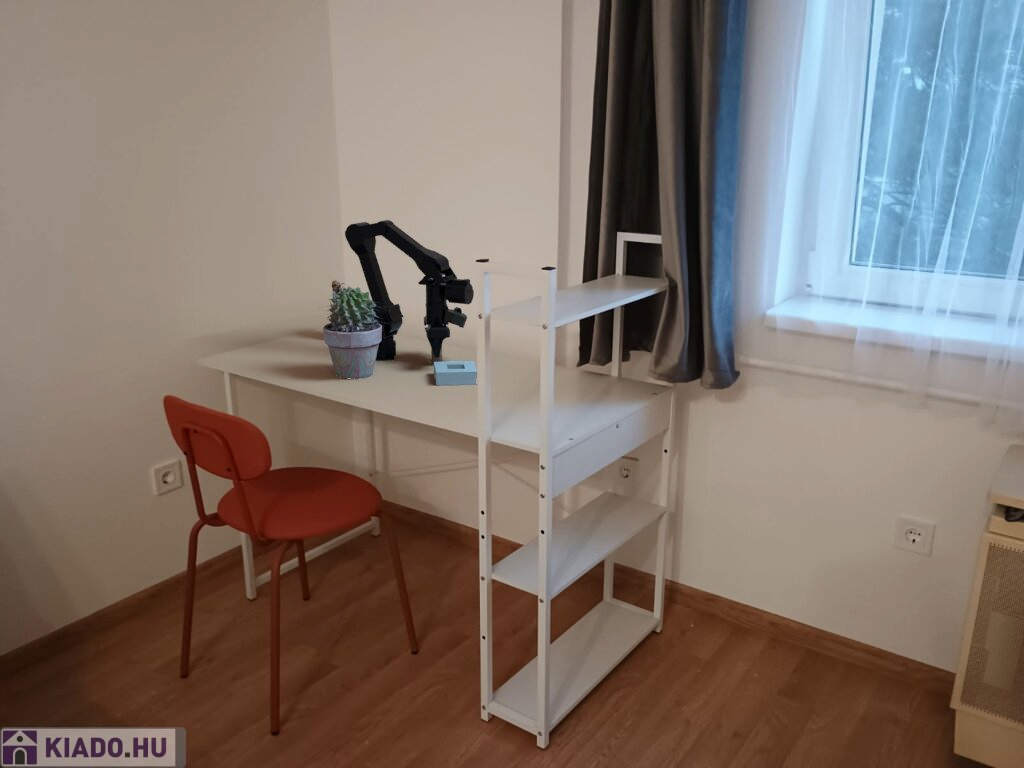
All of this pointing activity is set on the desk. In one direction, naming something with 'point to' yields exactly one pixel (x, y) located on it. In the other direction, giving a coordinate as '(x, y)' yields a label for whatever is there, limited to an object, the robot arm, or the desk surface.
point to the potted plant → (352, 332)
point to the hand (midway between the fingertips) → (436, 355)
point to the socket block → (455, 373)
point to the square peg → (435, 357)
